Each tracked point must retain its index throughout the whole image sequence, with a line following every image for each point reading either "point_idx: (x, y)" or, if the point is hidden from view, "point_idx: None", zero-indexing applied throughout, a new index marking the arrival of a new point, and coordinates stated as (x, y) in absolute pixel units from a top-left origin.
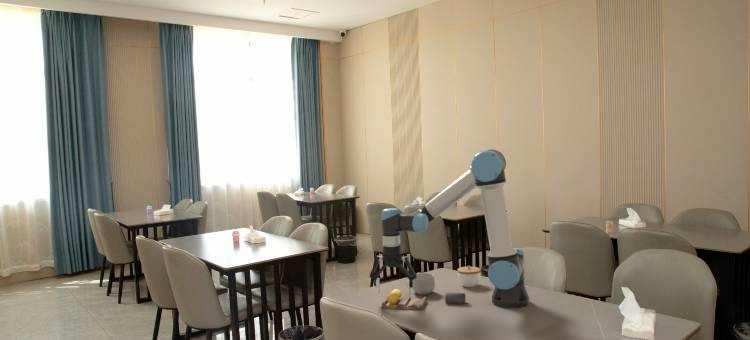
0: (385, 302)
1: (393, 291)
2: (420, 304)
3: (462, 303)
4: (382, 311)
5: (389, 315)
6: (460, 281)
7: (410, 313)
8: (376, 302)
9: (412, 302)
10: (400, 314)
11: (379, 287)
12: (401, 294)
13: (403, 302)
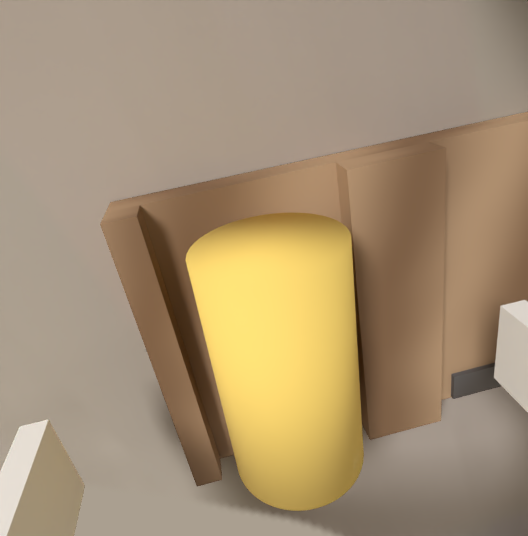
0: (207, 426)
1: (286, 403)
2: None
3: None
4: (243, 497)
5: (334, 530)
6: None
7: (477, 445)
8: (24, 332)
9: (478, 272)
10: (407, 487)
11: (27, 521)
12: (346, 234)
13: (413, 385)
